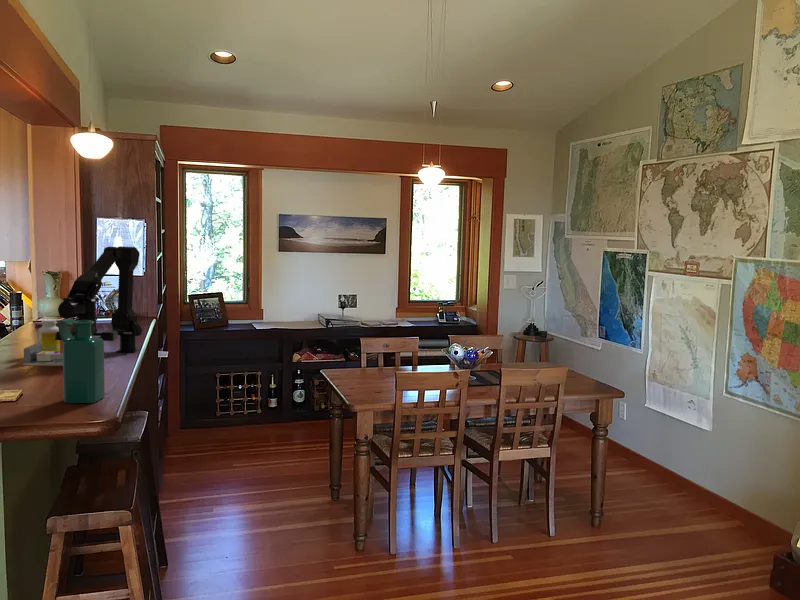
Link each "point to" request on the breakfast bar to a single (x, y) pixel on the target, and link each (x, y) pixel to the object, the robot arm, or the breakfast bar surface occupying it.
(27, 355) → the track
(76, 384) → the pitcher
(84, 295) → the robot arm
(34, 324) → the breakfast bar surface
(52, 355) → the thick grey end plate
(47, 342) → the supplement bottle
